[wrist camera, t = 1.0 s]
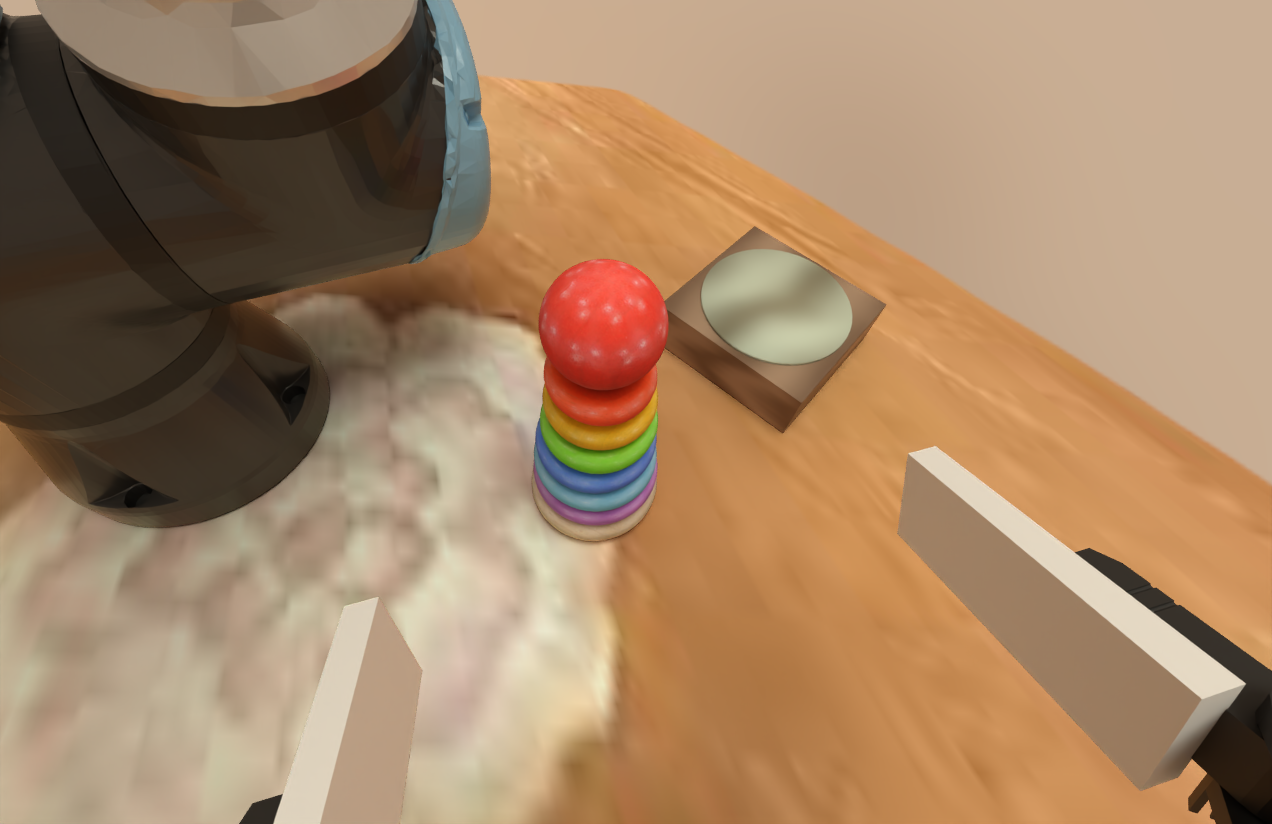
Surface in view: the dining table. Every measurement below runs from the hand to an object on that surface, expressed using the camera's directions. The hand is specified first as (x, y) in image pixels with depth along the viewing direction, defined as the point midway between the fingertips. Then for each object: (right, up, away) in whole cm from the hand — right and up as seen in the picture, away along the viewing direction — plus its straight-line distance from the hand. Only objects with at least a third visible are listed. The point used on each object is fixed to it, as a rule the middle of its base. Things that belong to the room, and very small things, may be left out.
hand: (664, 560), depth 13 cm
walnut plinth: (+9, +9, +29) cm, 32 cm away
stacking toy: (-3, -1, +22) cm, 22 cm away
